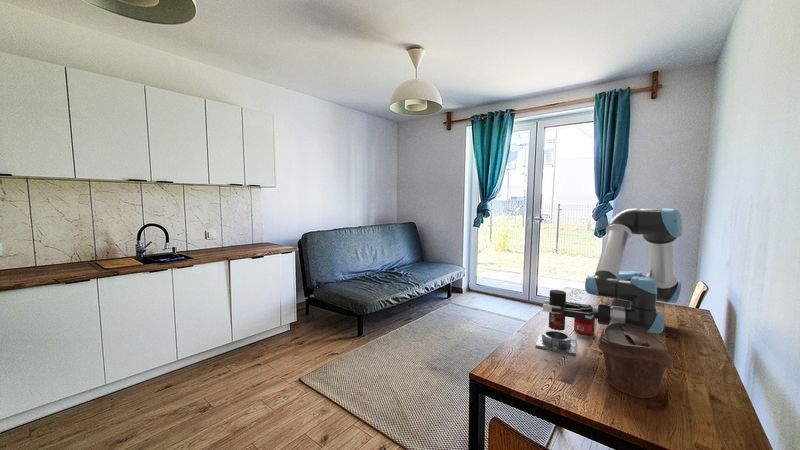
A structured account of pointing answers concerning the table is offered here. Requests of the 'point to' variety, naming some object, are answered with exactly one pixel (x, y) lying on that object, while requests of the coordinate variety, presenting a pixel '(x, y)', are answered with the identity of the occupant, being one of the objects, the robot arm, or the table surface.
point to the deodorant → (554, 318)
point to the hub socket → (556, 342)
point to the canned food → (584, 326)
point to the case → (634, 359)
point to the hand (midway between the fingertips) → (543, 305)
